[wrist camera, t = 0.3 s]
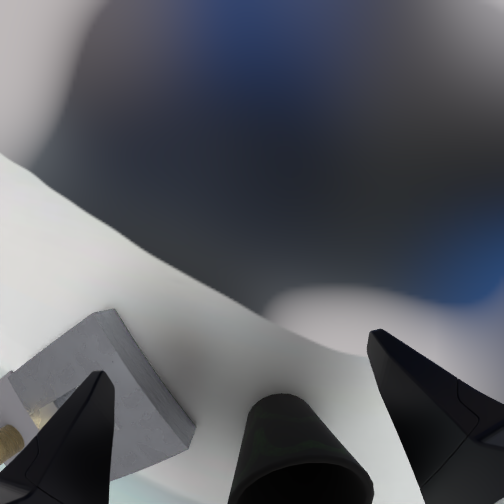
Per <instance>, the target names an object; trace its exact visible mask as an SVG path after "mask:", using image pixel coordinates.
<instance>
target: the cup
mask: <svg viewBox="0 0 504 504" xmlns="http://www.w3.org/2000/svg"><path fill="white" fill-rule="evenodd" d="M373 497H374V488H373V482H372V480H371V479H370V477H369V475H368V473H367V472H366V471H365V470H364V469H363V467H362V466H361V465H360V464H359V463H358V462H357V461H356V460H355V459H354V457H353V456H352V455H351V454H350V453H349V452H348V451H347V450H346V448H345V447H344V446H343V445H342V444H341V443H340V442H339V440H338V439H337V438H336V437H335V436H334V435H333V434H332V432H331V431H330V430H329V429H328V428H327V427H326V425H325V424H324V423H323V422H322V421H321V420H320V418H319V417H318V416H317V415H316V414H315V412H314V411H313V410H312V409H311V408H310V406H309V405H308V404H307V403H306V402H305V401H304V400H302V399H301V398H299V397H297V396H294V395H291V394H282V393H281V394H274V395H270V396H268V397H265V398H263V399H262V400H260V401H258V402H257V403H256V404H255V405H254V406H253V407H252V409H251V411H250V412H249V415H248V418H247V422H246V427H245V431H244V436H243V440H242V445H241V449H240V453H239V458H238V462H237V466H236V470H235V475H234V479H233V483H232V487H231V491H230V495H229V499H228V503H227V504H372V501H373Z"/></svg>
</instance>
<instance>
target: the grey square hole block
mask: <svg viewBox="0 0 504 504" xmlns="http://www.w3.org/2000/svg"><path fill="white" fill-rule="evenodd" d="M94 370H104V371H105V372H106V374H107V375H108V377H109V378H110V380H111V381H112V383H113V385H114V388H115V416H114V436H113V446H112V457H111V469H110V481H113V480H115V479H118V478H121V477H124V476H126V475H129V474H132V473H134V472H137V471H139V470H142V469H144V468H147V467H149V466H152V465H154V464H156V463H159V462H161V461H163V460H166V459H168V458H170V457H172V456H175V455H177V454H179V453H181V452H183V451H186V450H188V449H189V446H190V443H191V440H192V438H193V435H194V432H195V429H196V426H195V425H194V424H193V422H192V421H191V420H190V419H189V417H188V416H187V415H186V413H185V412H184V411H183V410H182V408H181V407H180V406H179V404H178V403H177V402H176V400H175V399H174V398H173V396H172V395H171V394H170V392H169V391H168V390H167V388H166V387H165V385H164V384H163V383H162V381H161V380H160V378H159V377H158V376H157V374H156V373H155V371H154V370H153V368H152V367H151V365H150V364H149V362H148V361H147V360H146V358H145V357H144V355H143V354H142V352H141V350H140V349H139V347H138V346H137V344H136V343H135V341H134V340H133V338H132V336H131V335H130V333H129V332H128V330H127V328H126V327H125V325H124V324H123V322H122V320H121V319H120V317H119V315H118V314H117V312H116V310H115V309H110V310H105V311H100V312H95V313H92V314H91V315H90V316H88V317H87V318H85V319H84V320H83V321H81V322H80V323H78V324H77V325H76V326H74V327H73V328H72V329H70V330H69V331H68V332H66V333H65V334H64V335H62V336H61V337H59V338H58V339H57V340H55V341H54V342H53V343H51V344H50V345H49V346H47V347H46V348H45V349H43V350H42V351H41V352H40V353H38V354H37V355H36V356H34V357H33V358H32V359H30V360H29V361H28V362H26V363H25V364H24V365H23V366H21V367H20V368H19V369H17V370H16V371H15V372H14V373H12V374H11V375H10V376H8V377H7V378H8V380H9V382H10V383H11V385H12V387H13V389H14V391H15V392H16V394H17V396H18V398H19V399H20V401H21V403H22V404H23V406H24V408H25V409H26V411H27V412H28V414H29V416H30V417H31V419H32V420H33V422H34V423H35V425H36V426H37V428H38V429H39V431H40V430H41V428H42V427H43V426H44V425H45V424H46V423H47V422H48V420H49V419H50V418H51V417H52V416H53V415H54V414H55V412H56V411H57V410H58V409H59V408H60V407H61V406H62V405H63V403H64V402H65V401H66V400H67V399H68V398H69V397H70V396H71V394H72V393H73V392H74V391H75V390H76V389H75V388H76V387H77V386H79V385H80V384H81V383H82V382H83V381H84V380H85V379H86V378H87V377H88V376H89V374H90V373H91V372H92V371H94Z"/></svg>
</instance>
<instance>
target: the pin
mask: <svg viewBox="0 0 504 504" xmlns="http://www.w3.org/2000/svg"><path fill="white" fill-rule="evenodd" d="M24 446H25V444H24V440H23V437H22V436H21V434H20V433H19V431H18V430H17V429H16V428H15V427H13V426H12V425H6V426H4V427H2V428H0V465H1V464H2V463H4V462H5V461H7V460H8V459H10V458H11V457H12V456H14V455H15V454H17V453H18V452H19V451H21V450H22V449H23V448H24Z"/></svg>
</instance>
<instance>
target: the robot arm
mask: <svg viewBox="0 0 504 504" xmlns="http://www.w3.org/2000/svg"><path fill="white" fill-rule="evenodd" d="M367 354H368V357H369V360H370V364H371V367H372V370H373V373H374V376H375V379H376V383H377V386H378V389H379V392H380V394H381V396H382V399H383V401H384V403H385V406H386V408H387V410H388V412H389V415H390V417H391V419H392V422H393V424H394V426H395V429H396V431H397V433H398V436H399V438H400V440H401V443H402V445H403V448H404V450H405V452H406V455H407V457H408V460H409V462H410V465H411V467H412V470H413V472H414V475H415V477H416V480H417V483H418V485H419V488H420V491H421V493H422V496H423V499H424V501H425V504H504V404H502V403H500V402H498V401H496V400H494V399H492V398H490V397H488V396H486V395H485V394H483V393H481V392H479V391H477V390H476V389H474V388H472V387H471V386H469V385H468V384H466V383H464V382H462V381H461V380H460V379H457V377H455V376H454V375H452V374H451V373H449V372H448V371H446V370H444V369H443V368H441V367H440V366H438V365H437V364H435V363H434V362H432V361H431V360H429V359H428V358H426V357H425V356H423V355H422V354H420V353H418V352H417V351H415V350H414V349H412V348H411V347H409V346H408V345H406V344H405V343H403V342H402V341H400V340H398V339H397V338H395V337H394V336H392V335H391V334H389V333H388V332H386V331H384V330H383V329H377V330H373V331H371V332H370V333H369V338H368V344H367ZM114 416H115V388H114V385H113V383H112V381H111V380H110V378H109V377H108V375H107V374H106V372H105V371H104V370H94V371H92V372H91V373H90V374H89V376H88V377H87V378H86V379H85V380H84V381H83V382H82V383H81V384H80V385H79V387H78V388H77V389H76V390H75V391H74V392H73V393H72V394H71V396H70V397H69V398H68V399H67V400H66V401H65V402H64V403H63V405H62V406H61V407H60V408H59V409H58V410H57V411H56V412H55V414H54V415H53V416H52V417H51V418H50V419H49V420H48V422H47V423H46V424H45V425H44V426H43V427H42V428H41V430H40V431H39V432H38V433H37V435H35V437H34V438H33V439H32V440H31V441H30V442H29V443H28V445H27V446H26V447H25V448H24V449H23V450H22V451H21V452H20V453H19V454H18V455H17V456H16V457H15V458H14V459H13V460H12V461H11V462H10V463H9V464H8V465H7V466H6V467H5V468H4V469H3V470H2V471H1V472H0V504H109V485H110V469H111V457H112V446H113V436H114Z"/></svg>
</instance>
